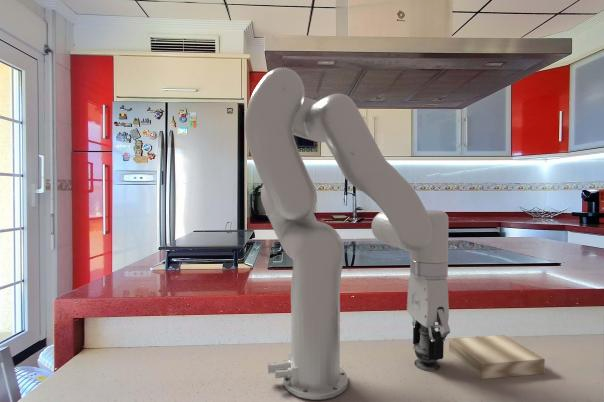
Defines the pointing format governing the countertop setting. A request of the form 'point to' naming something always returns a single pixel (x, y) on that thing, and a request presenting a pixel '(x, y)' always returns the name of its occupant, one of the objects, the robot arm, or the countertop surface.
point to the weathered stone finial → (424, 352)
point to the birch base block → (496, 356)
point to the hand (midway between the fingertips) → (427, 350)
